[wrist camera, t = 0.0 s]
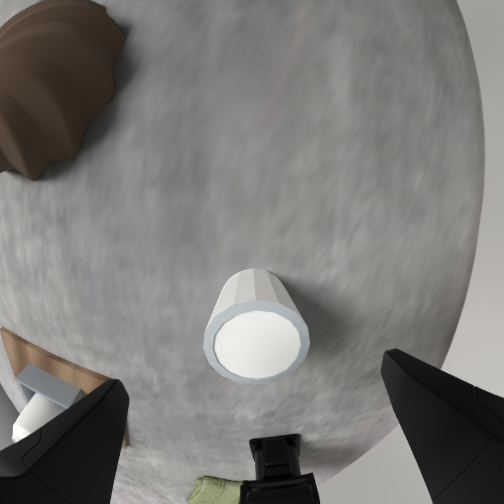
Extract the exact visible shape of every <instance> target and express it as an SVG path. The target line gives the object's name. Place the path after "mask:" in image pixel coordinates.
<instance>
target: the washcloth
mask: <svg viewBox="0 0 504 504" xmlns="http://www.w3.org/2000/svg"><path fill="white" fill-rule="evenodd" d="M240 485H243V482H242V481H241V482H234V481H227V480H225V479H218V478H213V477H209V476H202V477H201V478H198V479H196V481H195V487H194V488H193V491H192V492H191V495H190V497H189V498H188V499H186V502H187V503H188V504H238V502H239V498H240Z"/></svg>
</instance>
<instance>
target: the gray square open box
mask: <svg viewBox="0 0 504 504" xmlns="http://www.w3.org/2000/svg"><path fill="white" fill-rule="evenodd" d="M16 380H17V382H18V385H19V387H20V390H21V392H22V394H23V396H24V399H25V401H26V403H27V404H28V403H29V401H30V400H31V399H32V397H33V396H34V395H35V393H38V394H39V395H41V396H43V397H45V398H47V399H49V400H50V401H52V402H54V403H56V404H58V405H60V406H62V407H64V408H66V409H67V408H69V407H70V406H72V405H73V404H74V403H76V402H77V401H79V400H80V399H81V398H83V395H82V391H81V388H79V387H76V386H74V385H72V384H70V383H68V382H65V381H63V380H61V379H59V378H57V377H55V376H53V375H51V374H49V373H47V372H45V371H43V370H41V369H39V368H38V367H36V366H34V365H32V364H30V363H28V364H27V365H26V366H25V368H24V369H23V370H22V371H21V372H20V373H19V375H18V376H17V377H16Z"/></svg>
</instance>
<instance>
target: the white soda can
mask: <svg viewBox="0 0 504 504" xmlns="http://www.w3.org/2000/svg"><path fill="white" fill-rule="evenodd" d="M64 410H66V408H64V407H62V406H60V405H58V404H56V403H54V402H52V401H50V400H49V399H47V398H45V397H43V396H41V395H39V394H38V393H35V395H34V396H33V397H32V399H31V400H30V401H29V403H28V404H27V406H26V407H25V409H24V410H23V411H22V413H21V414H20V416H19V417H18V419H17V420H16V422H15V423H14V425H13V436H12V440H13V442H14V443H16V442H18V441H19V440H21V439H23V438H25V437H26V436H28V435H29V434H31V433H33V432H34V431H36V430H37V429H38V428H40V427H41V426H42V427H43V425H44V424H46V423H47V422H49V421H50V420H52V419H53V418H54V417H56V416H57V415H59V414H60V413H62V412H63V411H64Z"/></svg>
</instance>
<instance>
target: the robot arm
mask: <svg viewBox="0 0 504 504" xmlns="http://www.w3.org/2000/svg"><path fill="white" fill-rule="evenodd" d="M381 375H382V378H383V381H384V384H385V387H386V389H387V392H388V395H389V398H390V401H391V404H392V407H393V410H394V412H395V415H396V417H397V419H398V421H399V423H400V425H401V428H402V430H403V432H404V434H405V436H406V439H407V440H408V443H409V445H410V448H411V450H412V452H413V455H414V457H415V459H416V462H417V464H418V466H419V469H420V471H421V474H422V476H423V479H424V481H425V484H426V486H427V489H428V491H429V494H430V496H431V499H432V500H433V501H432V502H433V504H504V398H503V397H500V396H497V395H494V394H492V393H490V392H487V391H485V390H483V389H481V388H478V387H476V386H475V387H474V385H472V384H470V383H467V382H465V381H463V380H461V379H459V378H457V377H454V376H453V375H450V374H448V373H446V372H444V371H442V370H440V369H438V368H436V367H434V366H432V365H430V364H427V363H425V362H423V361H421V360H419V359H417V358H415V357H413V356H411V355H409V354H407V353H405V352H403V351H401V350H399V349H396V348H394V349H391V350H387V351H385V353H384V355H383V361H382V366H381ZM128 407H129V395H128V393H127V391H126V389H125V388H124V386H123V384H122V382H121V381H120V380H119V379H108V380H107V381H105V382H104V383H102V384H101V385H100V386H98V387H97V388H95V389H94V390H93V391H91V392H90V393H88V394H87V395H86V396H84V397H83V398H81V399H80V400H79V401H77V402H76V403H74V404H73V405H72V406H70V407H69V408H67V409H66V410H64V411H63V412H62V413H60V414H59V415H57V416H56V417H54V418H53V419H52V420H50V421H49V422H47V423H46V424H44V425H43V427H42V426H41V427H40V428H38V429H37V430H36V431H34V432H33V433H31V434H29V435H28V436H26V437H25V438H23V439H21V440H19V441H18V442H16V443H14V444H12V445H10V446H8V447H7V448H5V449H3V450H1V451H0V504H110V500H111V494H112V489H113V484H114V479H115V474H116V470H117V465H118V461H119V456H120V452H121V448H122V444H123V439H124V435H125V428H126V421H127V414H128ZM249 445H250V448H251V452H252V455H253V459H254V462H255V471H256V480H252V481H248V480H243V485H240V498H239V502H238V504H320V500H319V494H318V490H317V486H316V483H315V479H314V475H313V472H312V473H309V474H304V475H301V472H300V466H299V460H298V457H299V435H298V434H294V435H287V436H280V437H272V438H262V439H252V440H250V441H249Z"/></svg>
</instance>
